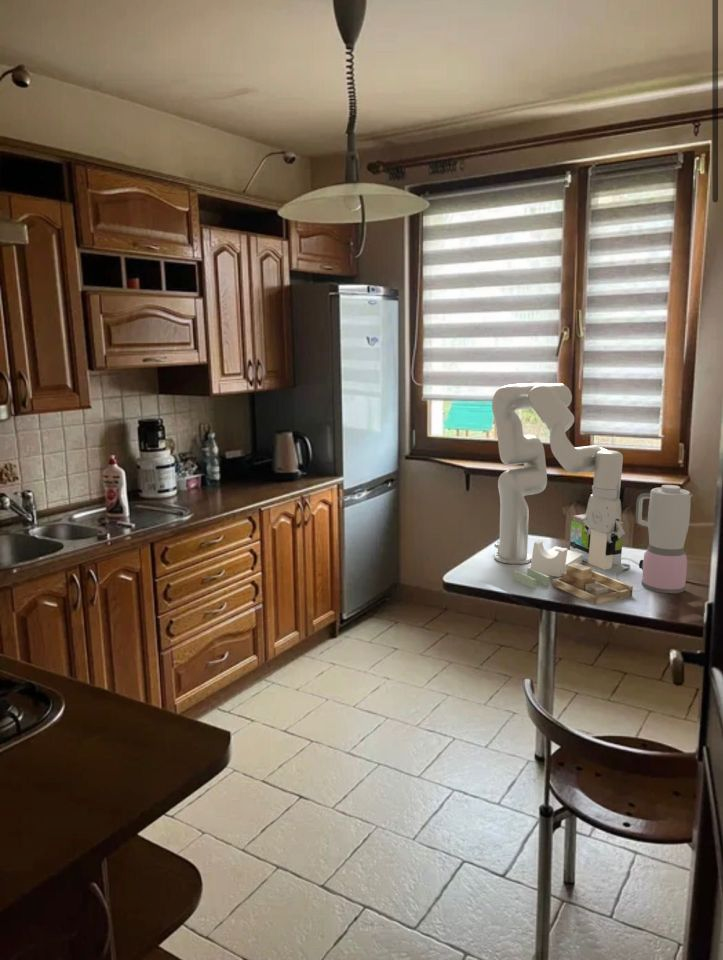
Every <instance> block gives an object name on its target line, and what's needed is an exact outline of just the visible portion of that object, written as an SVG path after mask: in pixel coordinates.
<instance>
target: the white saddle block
mask: <svg viewBox="0 0 723 960" xmlns="http://www.w3.org/2000/svg"><path fill="white" fill-rule="evenodd" d="M543 543H544V541H542V540H537V541H535V542H534V543H533V549H532V555H531V556H532V560H531V561H530V568H531V569H533V570H536V571H538V572H540V573H543V574H545V575H547V576H551V577H552V576H553V577H556V578H560V577H562V573H565V572H566V570H567V565H569V564H573V563H578V564H581V565H582V564H583V563H582V562H583V560H582V558H583V554H581V553H577V552H574V551H571V550H570V549H568V548H567V547H560V546H557V545H555V546H553V547H551V548H549V549H548V550H546V549H545V548H544V544H543Z"/></svg>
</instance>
